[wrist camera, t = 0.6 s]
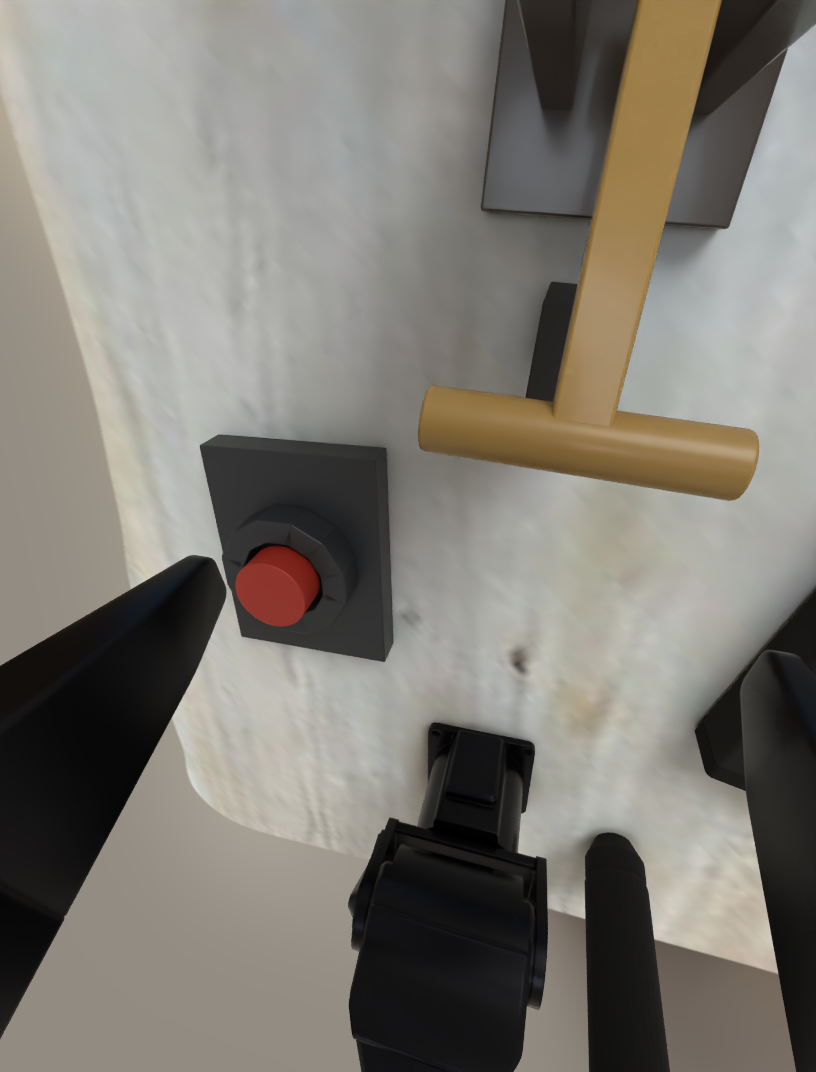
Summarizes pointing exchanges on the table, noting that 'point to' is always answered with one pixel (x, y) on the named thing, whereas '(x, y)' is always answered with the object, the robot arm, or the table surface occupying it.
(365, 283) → the table surface
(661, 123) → the lever
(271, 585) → the button
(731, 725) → the external hard drive
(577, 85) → the bracket
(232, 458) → the dark grey square plate
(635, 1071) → the microphone
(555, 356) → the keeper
